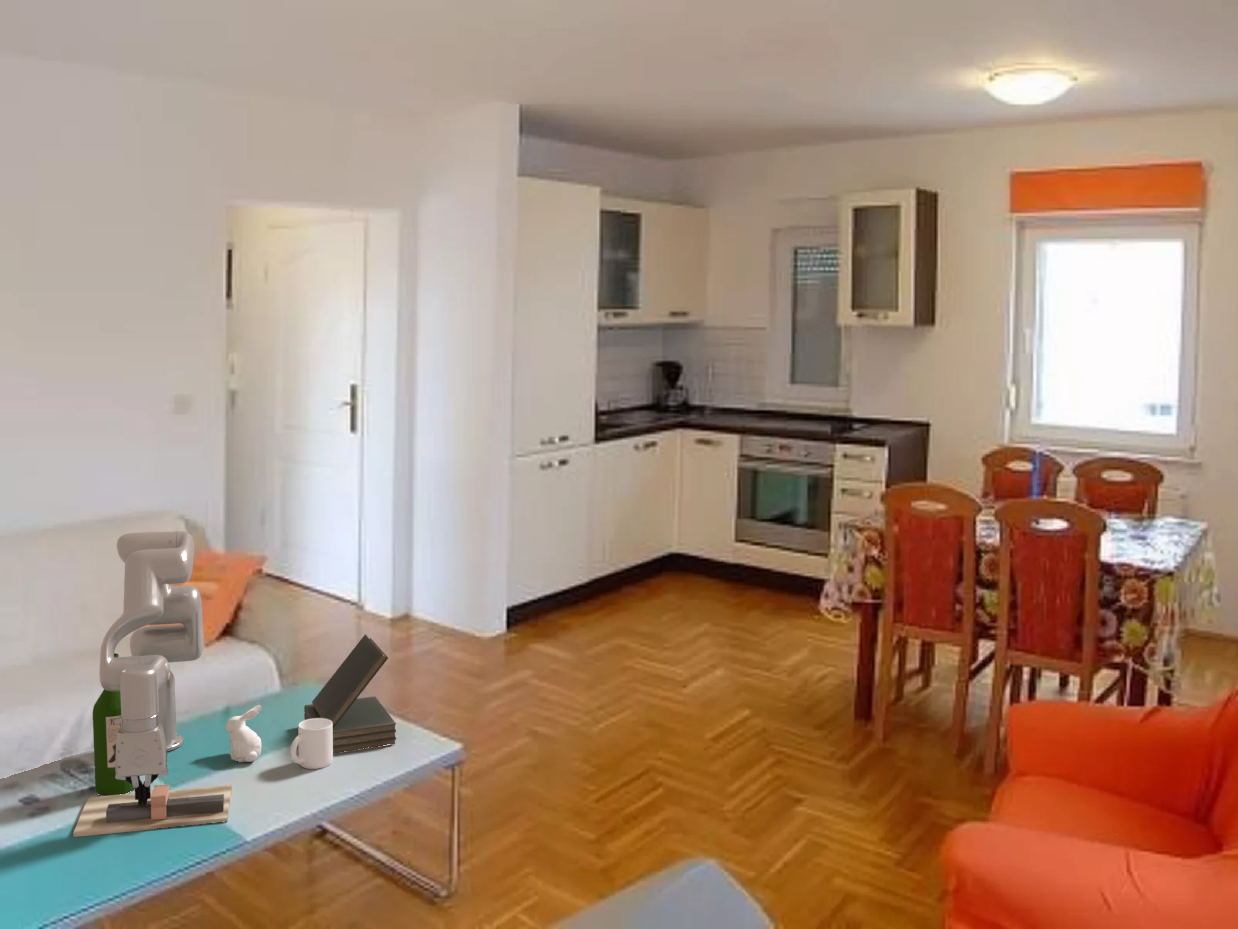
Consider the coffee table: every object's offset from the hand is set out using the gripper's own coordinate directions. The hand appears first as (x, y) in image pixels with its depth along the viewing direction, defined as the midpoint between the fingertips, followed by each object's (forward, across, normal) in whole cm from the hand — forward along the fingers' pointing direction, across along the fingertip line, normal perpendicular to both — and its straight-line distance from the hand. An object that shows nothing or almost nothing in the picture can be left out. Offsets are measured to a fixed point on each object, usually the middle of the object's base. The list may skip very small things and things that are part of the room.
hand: (143, 801), depth 243 cm
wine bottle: (+4, -8, +19) cm, 21 cm away
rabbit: (+5, +20, +33) cm, 39 cm away
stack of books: (+5, +46, +42) cm, 62 cm away
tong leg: (+3, +5, +1) cm, 6 cm away
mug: (+4, +36, +23) cm, 43 cm away
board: (+4, +2, +4) cm, 6 cm away
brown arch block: (+3, +4, 0) cm, 5 cm away
